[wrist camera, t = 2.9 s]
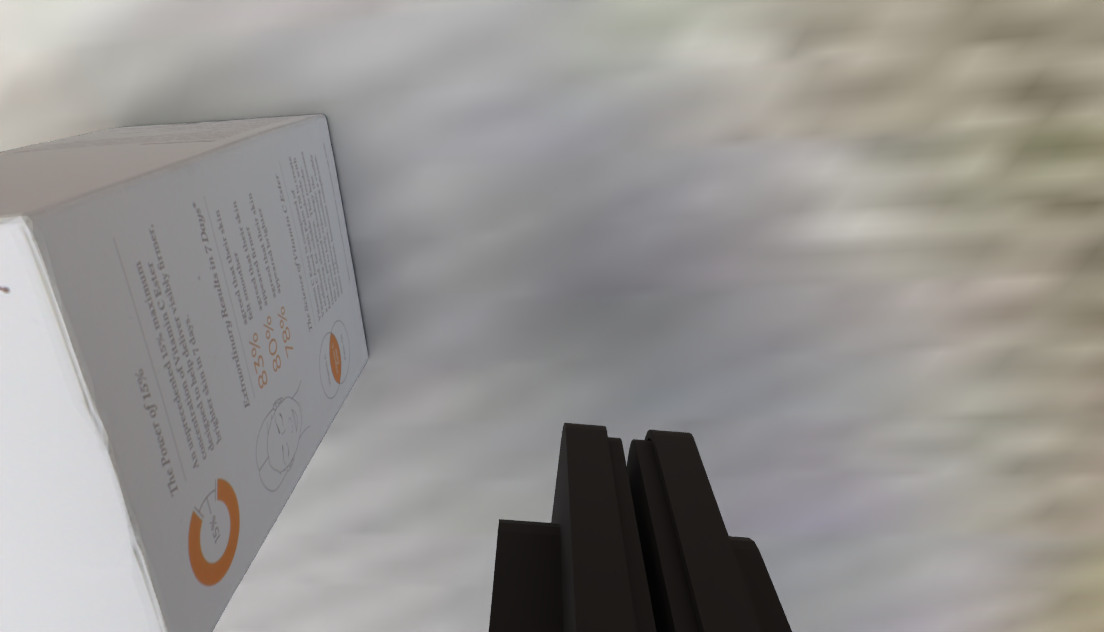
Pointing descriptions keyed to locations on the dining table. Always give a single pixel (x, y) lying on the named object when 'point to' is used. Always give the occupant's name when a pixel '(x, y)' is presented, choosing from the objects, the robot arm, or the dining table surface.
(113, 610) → the small box
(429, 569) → the dining table surface
